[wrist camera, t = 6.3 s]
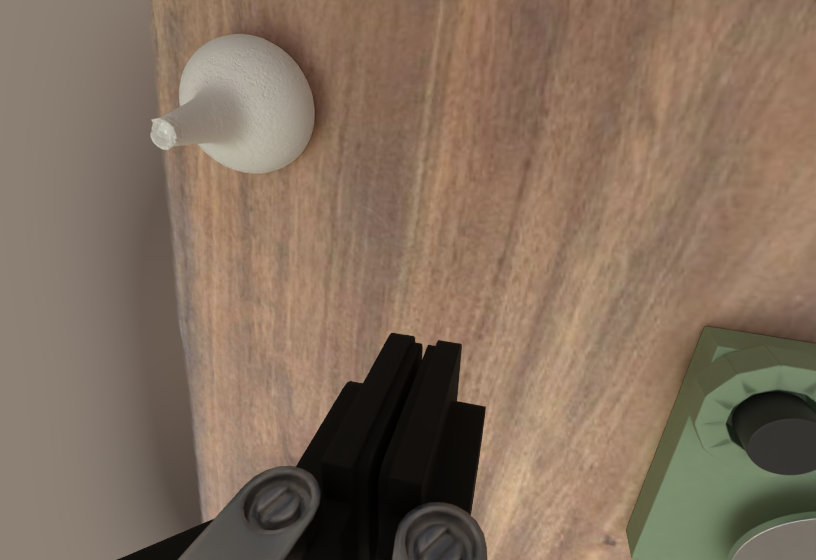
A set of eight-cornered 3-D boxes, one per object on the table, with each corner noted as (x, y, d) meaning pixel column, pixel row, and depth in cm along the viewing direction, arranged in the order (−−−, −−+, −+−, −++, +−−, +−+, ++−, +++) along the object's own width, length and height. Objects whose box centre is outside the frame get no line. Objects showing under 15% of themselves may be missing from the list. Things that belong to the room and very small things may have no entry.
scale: (697, 315, 22) (723, 355, 19) (1016, 365, 19) (1107, 420, 16) (618, 528, 29) (627, 582, 25) (848, 586, 26) (889, 655, 23)
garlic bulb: (251, 6, 21) (111, -28, 14) (347, 102, 22) (258, 115, 15) (194, 108, 24) (54, 122, 17) (280, 191, 25) (179, 236, 18)
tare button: (745, 384, 20) (762, 411, 18) (826, 399, 19) (851, 428, 17) (721, 437, 21) (736, 466, 19) (795, 452, 20) (817, 483, 19)
